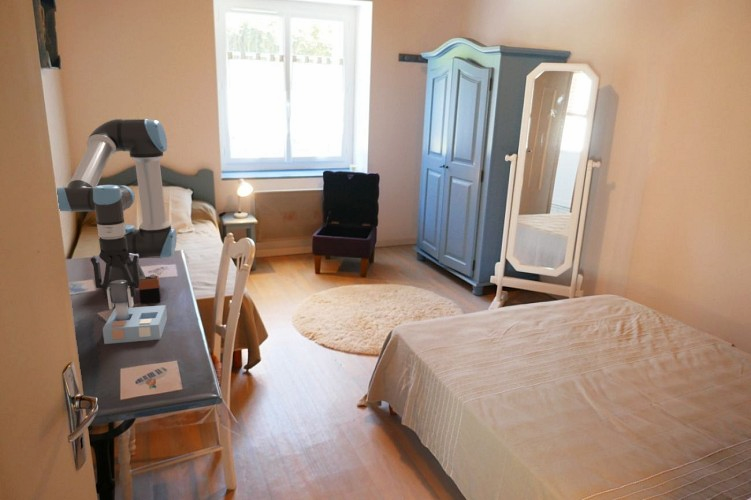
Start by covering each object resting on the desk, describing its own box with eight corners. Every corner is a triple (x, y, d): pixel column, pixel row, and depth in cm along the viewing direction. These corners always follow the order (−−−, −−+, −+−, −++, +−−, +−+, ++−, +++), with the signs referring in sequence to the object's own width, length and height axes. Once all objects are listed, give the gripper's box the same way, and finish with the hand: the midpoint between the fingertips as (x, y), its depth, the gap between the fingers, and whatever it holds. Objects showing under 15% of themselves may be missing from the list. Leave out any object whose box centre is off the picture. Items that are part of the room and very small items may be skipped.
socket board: (116, 322, 174) (114, 307, 172) (167, 318, 177) (165, 304, 176) (104, 344, 158) (101, 328, 157) (160, 339, 162) (158, 324, 161)
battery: (160, 302, 192) (157, 276, 189) (140, 304, 189) (137, 278, 186) (160, 298, 195) (158, 273, 193) (141, 300, 193) (138, 274, 190)
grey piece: (115, 315, 168) (111, 280, 164) (133, 314, 169) (129, 279, 165) (112, 321, 163) (107, 285, 159) (130, 320, 164) (125, 284, 161)
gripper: (75, 240, 153) (86, 313, 159) (142, 238, 157) (150, 309, 163) (83, 234, 160) (93, 304, 166) (146, 232, 164) (154, 300, 170)
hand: (121, 306), depth 165 cm, fingers closed on grey piece, 5 cm apart
